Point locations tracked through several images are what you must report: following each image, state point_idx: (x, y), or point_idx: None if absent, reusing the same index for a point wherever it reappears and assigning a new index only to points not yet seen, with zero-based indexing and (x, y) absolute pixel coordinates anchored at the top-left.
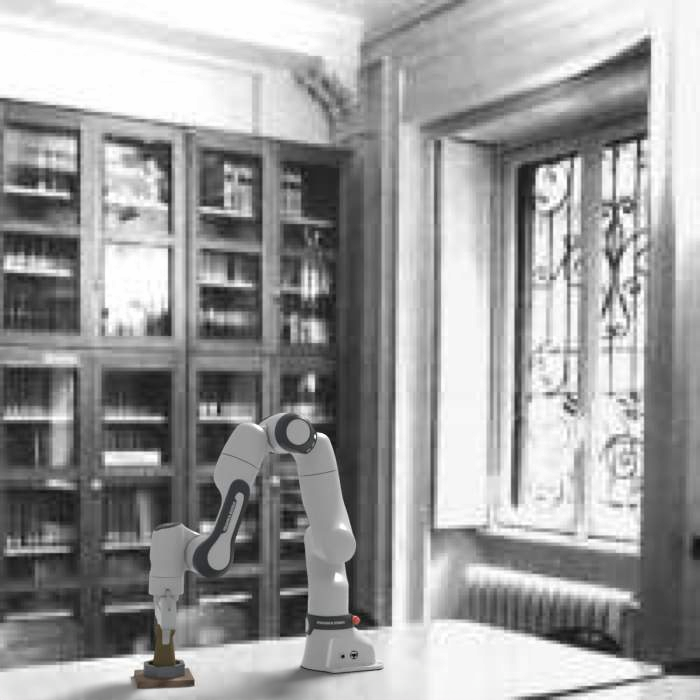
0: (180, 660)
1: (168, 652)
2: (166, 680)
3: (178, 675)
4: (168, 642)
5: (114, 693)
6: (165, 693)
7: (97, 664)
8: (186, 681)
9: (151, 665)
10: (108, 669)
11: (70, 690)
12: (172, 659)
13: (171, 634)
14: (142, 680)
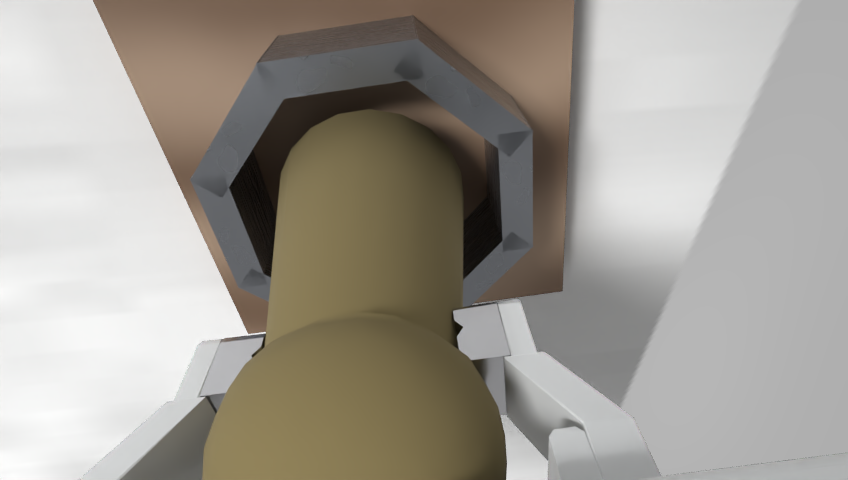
0: (264, 89)
1: (455, 239)
2: (555, 143)
3: (474, 68)
4: (521, 312)
5: (630, 342)
6: (720, 120)
7: (35, 458)
8: None
9: (469, 286)
10: (128, 415)
11: (535, 463)
12: (429, 170)
13: (461, 356)
14: (526, 273)
